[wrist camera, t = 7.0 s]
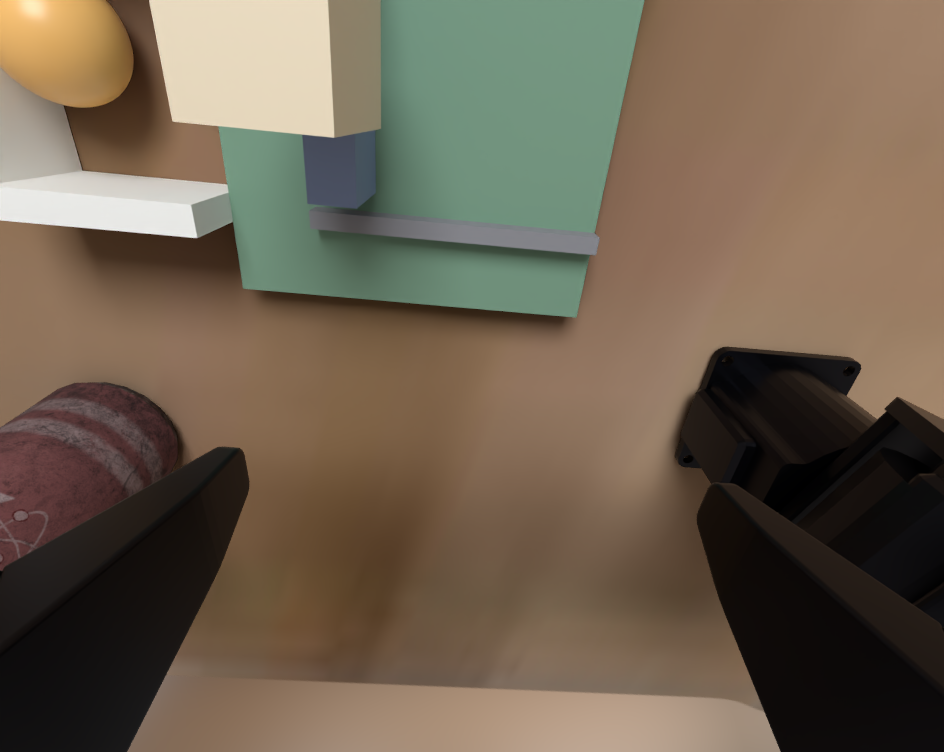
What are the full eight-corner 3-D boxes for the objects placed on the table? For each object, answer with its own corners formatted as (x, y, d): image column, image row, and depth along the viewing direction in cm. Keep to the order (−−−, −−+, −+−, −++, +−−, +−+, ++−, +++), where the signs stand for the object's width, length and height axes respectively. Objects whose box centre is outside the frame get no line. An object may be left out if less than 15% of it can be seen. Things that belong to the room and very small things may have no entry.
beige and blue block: (399, -79, 13) (314, -296, 6) (396, 195, 16) (340, 255, 9) (294, -91, 13) (85, -328, 6) (313, 186, 16) (196, 242, 9)
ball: (4, -36, 14) (137, -17, 15) (46, 101, 16) (162, 112, 17) (-96, -72, 11) (76, -47, 12) (-31, 101, 13) (116, 114, 14)
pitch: (677, -222, 13) (715, -285, 11) (569, 304, 20) (580, 325, 18) (182, -290, 12) (124, -370, 10) (258, 276, 19) (233, 295, 17)
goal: (201, -152, 13) (104, -246, 10) (250, 213, 18) (197, 238, 15) (-57, -185, 13) (-251, -293, 10) (63, 196, 18) (-36, 216, 14)
